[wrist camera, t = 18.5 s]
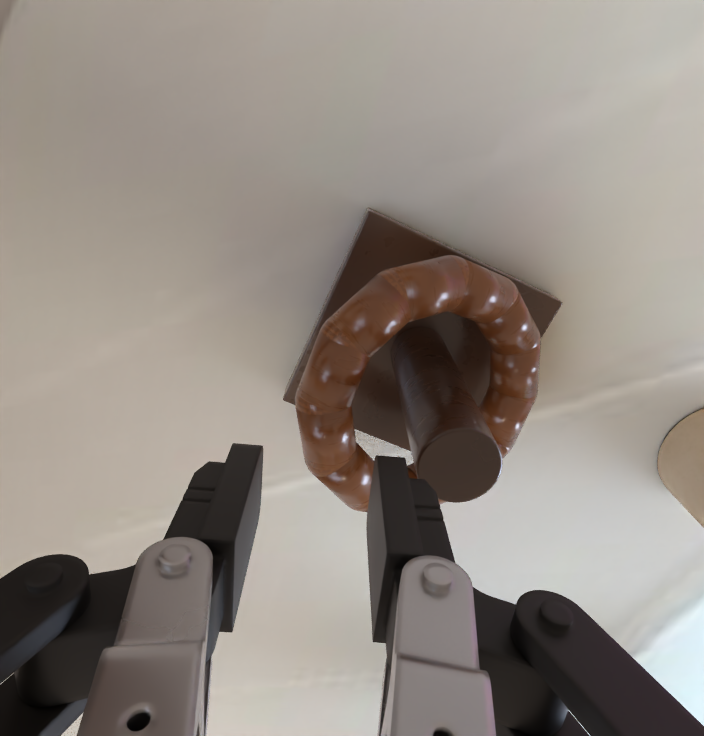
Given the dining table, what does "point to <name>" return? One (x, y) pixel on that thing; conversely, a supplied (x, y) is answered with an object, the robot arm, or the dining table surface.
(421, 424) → the stand
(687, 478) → the candle
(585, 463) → the dining table surface
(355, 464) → the ring
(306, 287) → the dining table surface
